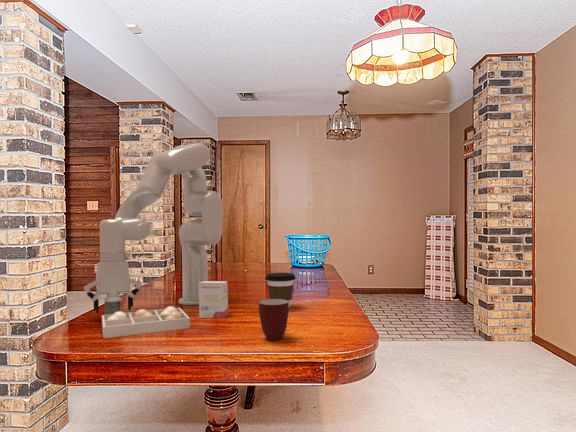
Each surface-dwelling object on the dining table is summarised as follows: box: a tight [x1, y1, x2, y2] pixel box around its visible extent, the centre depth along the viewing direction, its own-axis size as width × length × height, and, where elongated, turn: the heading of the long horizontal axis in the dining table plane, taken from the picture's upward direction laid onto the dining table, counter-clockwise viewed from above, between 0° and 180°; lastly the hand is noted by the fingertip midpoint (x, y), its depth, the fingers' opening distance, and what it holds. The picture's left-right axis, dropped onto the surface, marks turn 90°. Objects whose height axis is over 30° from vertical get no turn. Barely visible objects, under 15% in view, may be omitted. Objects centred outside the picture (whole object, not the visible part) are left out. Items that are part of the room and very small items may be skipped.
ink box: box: [198, 280, 229, 319], centre depth 145 cm, size 9×5×12 cm, turn 82°
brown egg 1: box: [134, 308, 153, 317], centre depth 135 cm, size 6×4×4 cm
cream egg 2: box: [160, 305, 177, 315], centre depth 138 cm, size 6×4×4 cm
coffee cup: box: [264, 272, 297, 308], centre depth 158 cm, size 11×11×12 cm
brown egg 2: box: [164, 311, 182, 320], centre depth 131 cm, size 6×4×4 cm
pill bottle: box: [104, 293, 124, 315], centre depth 142 cm, size 5×5×10 cm
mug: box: [258, 298, 290, 342], centre depth 121 cm, size 11×8×10 cm
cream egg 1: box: [107, 311, 127, 320], centre depth 132 cm, size 6×4×4 cm
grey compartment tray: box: [101, 307, 191, 340], centre depth 132 cm, size 23×16×4 cm
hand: (113, 310), depth 142 cm, fingers open, 9 cm apart
